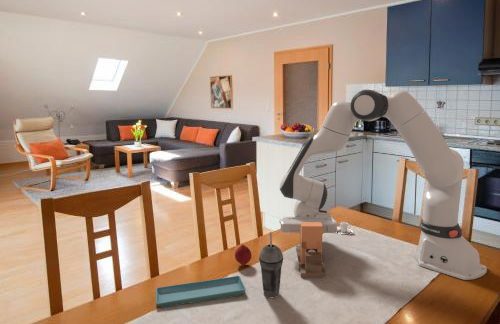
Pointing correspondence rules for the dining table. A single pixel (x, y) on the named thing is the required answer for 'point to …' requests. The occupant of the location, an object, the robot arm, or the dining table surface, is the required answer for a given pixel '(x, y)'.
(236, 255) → the onion
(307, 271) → the pipe rig
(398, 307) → the dining table surface
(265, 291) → the beverage cup
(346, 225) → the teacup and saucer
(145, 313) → the dining table surface
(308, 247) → the orange angular piece
